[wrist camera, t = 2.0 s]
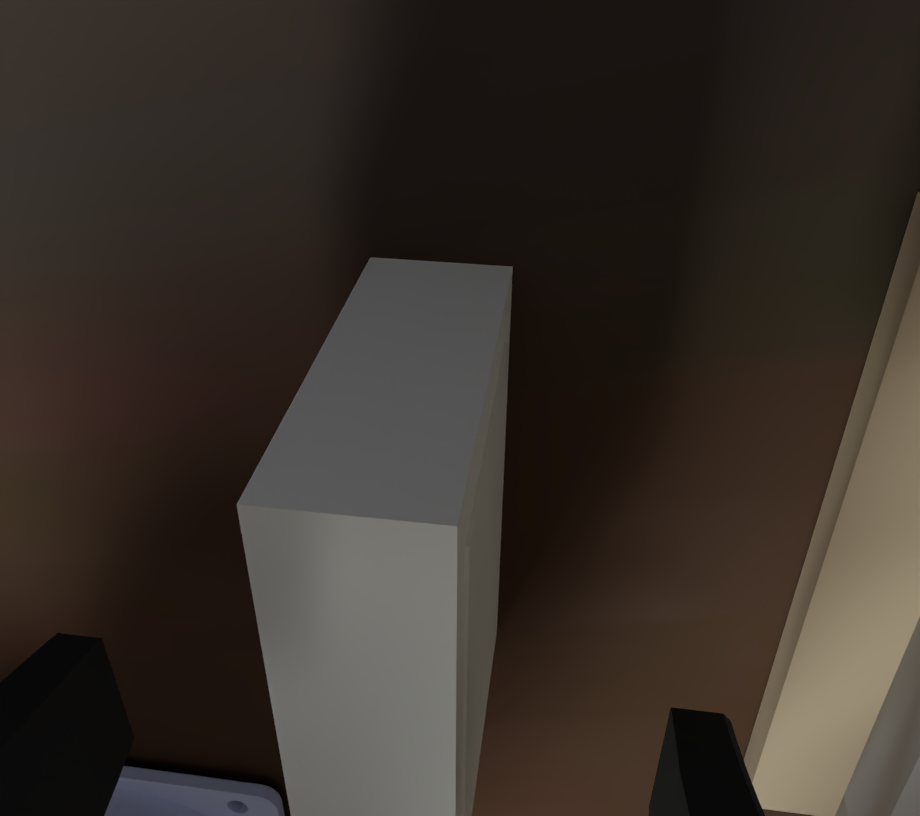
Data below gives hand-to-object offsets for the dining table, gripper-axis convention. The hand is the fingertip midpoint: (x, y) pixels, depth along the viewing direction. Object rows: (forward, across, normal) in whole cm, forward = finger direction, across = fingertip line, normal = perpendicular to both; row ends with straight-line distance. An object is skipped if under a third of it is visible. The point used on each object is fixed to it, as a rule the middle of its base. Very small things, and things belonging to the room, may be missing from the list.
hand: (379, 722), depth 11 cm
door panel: (+5, 0, 0) cm, 5 cm away
